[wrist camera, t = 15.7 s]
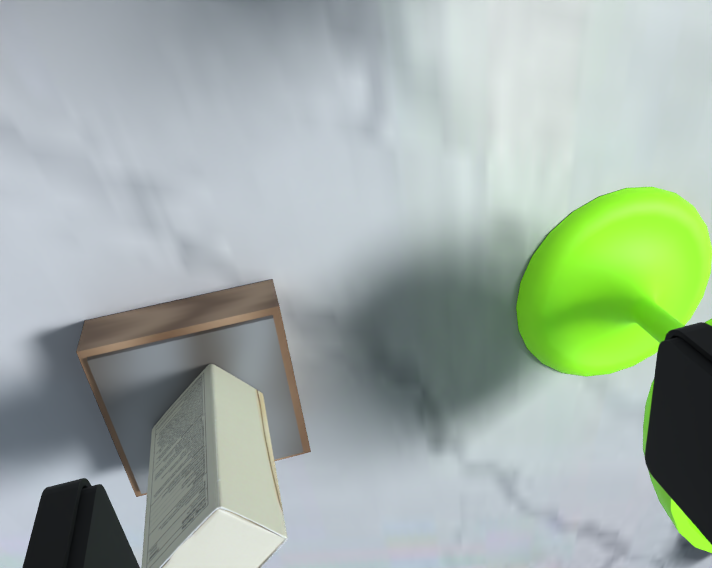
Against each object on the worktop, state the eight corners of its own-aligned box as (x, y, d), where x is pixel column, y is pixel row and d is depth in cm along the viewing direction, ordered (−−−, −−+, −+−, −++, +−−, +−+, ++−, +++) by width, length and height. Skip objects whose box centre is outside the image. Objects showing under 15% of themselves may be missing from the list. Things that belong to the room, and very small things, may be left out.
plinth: (272, 279, 43) (280, 309, 39) (302, 418, 48) (311, 455, 45) (84, 320, 41) (75, 355, 38) (139, 459, 47) (135, 501, 43)
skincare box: (205, 455, 43) (212, 622, 32) (147, 426, 41) (134, 595, 30) (266, 389, 42) (293, 541, 31) (209, 357, 40) (217, 507, 29)
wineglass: (734, 291, 52) (964, 440, 37) (570, 407, 54) (723, 595, 39) (668, 140, 45) (924, 249, 29) (478, 282, 46) (624, 455, 31)
